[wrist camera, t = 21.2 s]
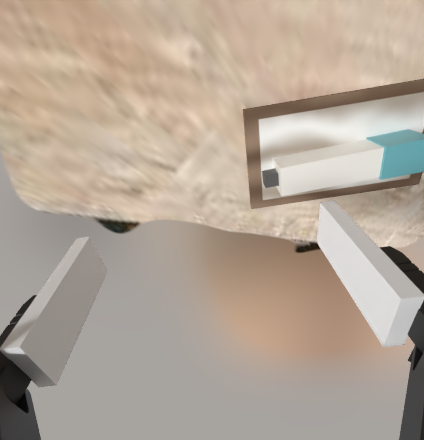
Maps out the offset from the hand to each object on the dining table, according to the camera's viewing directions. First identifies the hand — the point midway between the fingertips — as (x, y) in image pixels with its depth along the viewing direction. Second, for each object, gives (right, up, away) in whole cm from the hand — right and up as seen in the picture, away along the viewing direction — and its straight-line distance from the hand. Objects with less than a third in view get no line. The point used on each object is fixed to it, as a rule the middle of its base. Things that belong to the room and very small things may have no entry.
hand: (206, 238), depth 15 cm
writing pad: (+20, +12, +25) cm, 34 cm away
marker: (+20, +11, +25) cm, 33 cm away
